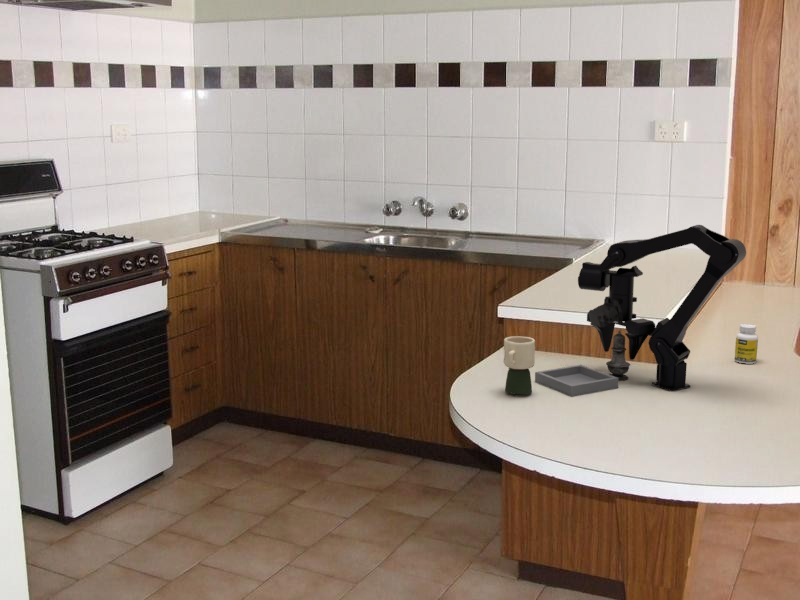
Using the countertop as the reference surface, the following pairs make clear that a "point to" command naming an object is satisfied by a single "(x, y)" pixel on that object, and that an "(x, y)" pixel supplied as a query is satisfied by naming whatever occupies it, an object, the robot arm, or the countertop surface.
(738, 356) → the supplement bottle
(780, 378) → the countertop surface
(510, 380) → the character mug
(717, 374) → the countertop surface
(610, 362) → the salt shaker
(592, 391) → the charcoal tray
